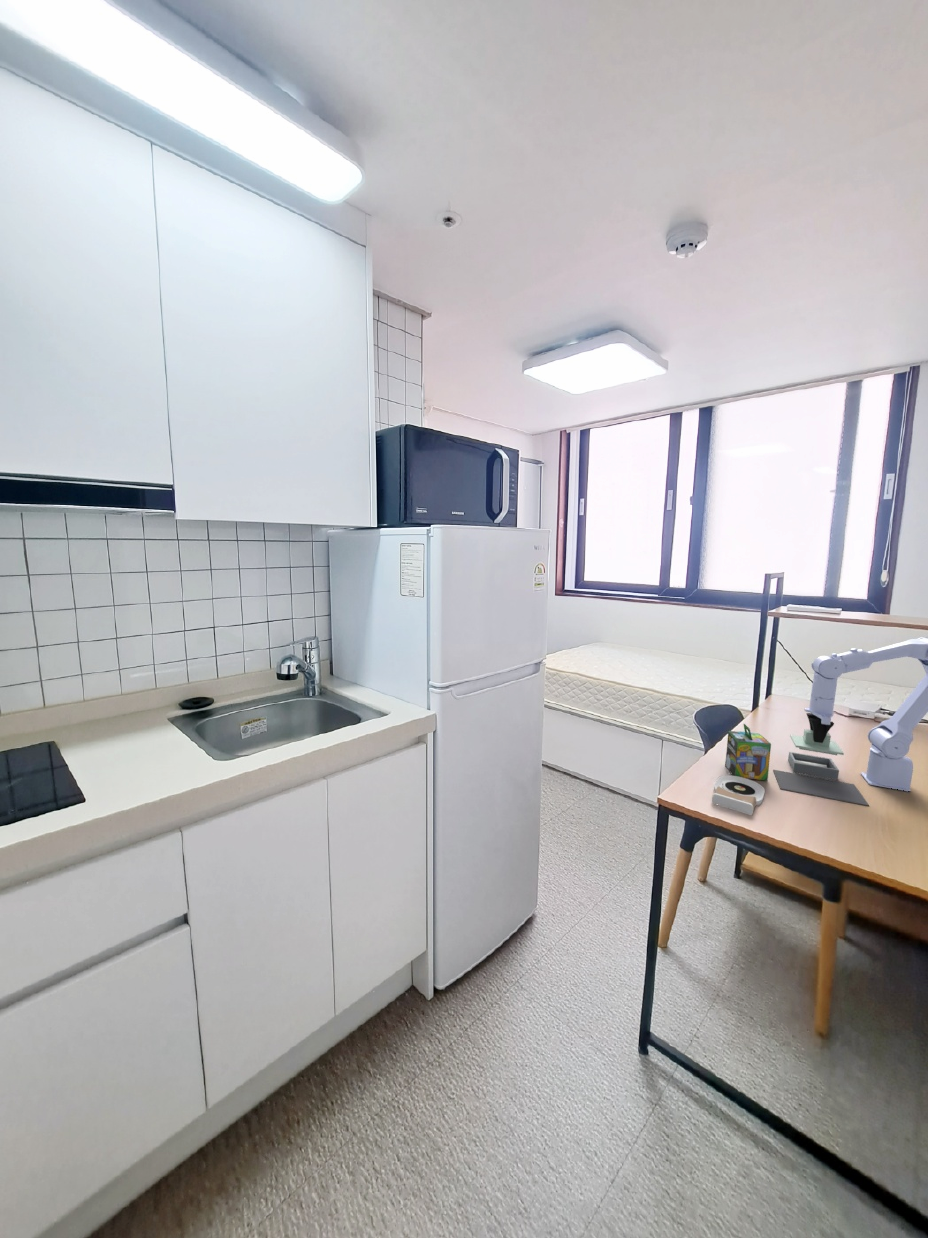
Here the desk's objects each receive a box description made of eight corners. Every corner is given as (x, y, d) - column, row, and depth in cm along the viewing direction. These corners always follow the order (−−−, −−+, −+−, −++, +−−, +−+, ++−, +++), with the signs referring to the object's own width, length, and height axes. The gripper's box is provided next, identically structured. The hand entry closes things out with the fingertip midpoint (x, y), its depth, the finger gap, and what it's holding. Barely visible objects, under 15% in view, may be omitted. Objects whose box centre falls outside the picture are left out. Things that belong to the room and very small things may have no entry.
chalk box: (768, 782, 140) (774, 733, 138) (733, 778, 142) (739, 730, 140) (756, 768, 149) (761, 722, 147) (723, 764, 151) (728, 719, 149)
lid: (834, 745, 148) (836, 730, 147) (843, 757, 139) (845, 741, 138) (789, 738, 153) (791, 724, 152) (795, 749, 144) (797, 734, 143)
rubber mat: (853, 785, 139) (854, 784, 139) (869, 806, 128) (869, 805, 128) (773, 770, 148) (773, 769, 148) (780, 789, 136) (780, 788, 136)
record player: (707, 792, 128) (721, 766, 144) (706, 803, 128) (720, 776, 144) (758, 807, 121) (767, 779, 137) (757, 818, 121) (766, 789, 137)
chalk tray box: (829, 769, 150) (830, 758, 150) (837, 781, 142) (839, 770, 142) (787, 762, 155) (789, 751, 154) (793, 773, 147) (794, 762, 146)
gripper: (801, 688, 152) (796, 729, 154) (811, 701, 139) (805, 745, 141) (829, 691, 149) (823, 733, 151) (842, 705, 136) (835, 750, 138)
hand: (816, 740), depth 145 cm, fingers closed on lid, 3 cm apart
